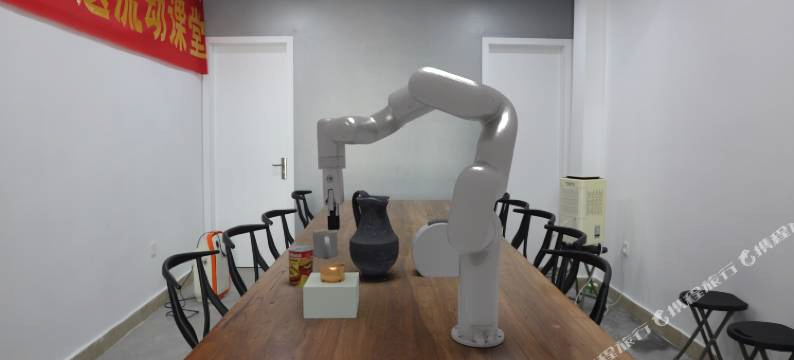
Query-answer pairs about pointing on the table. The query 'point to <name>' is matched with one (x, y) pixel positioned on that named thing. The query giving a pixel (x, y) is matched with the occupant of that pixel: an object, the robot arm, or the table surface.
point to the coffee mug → (324, 243)
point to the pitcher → (372, 237)
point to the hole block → (331, 297)
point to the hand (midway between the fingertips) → (333, 229)
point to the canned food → (300, 265)
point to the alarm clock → (434, 251)
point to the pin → (332, 272)
